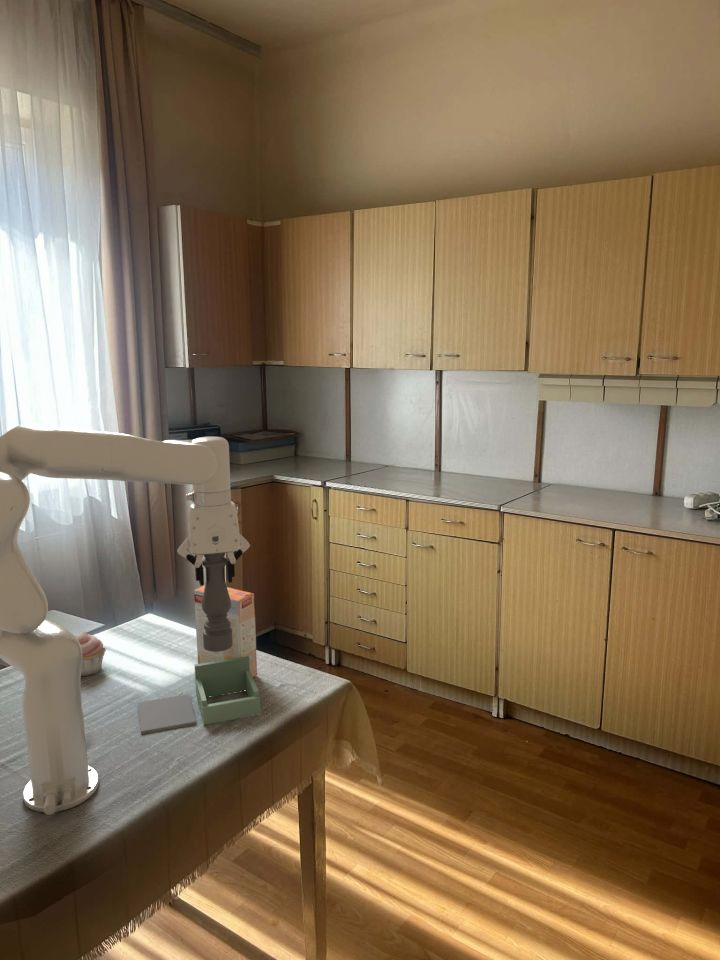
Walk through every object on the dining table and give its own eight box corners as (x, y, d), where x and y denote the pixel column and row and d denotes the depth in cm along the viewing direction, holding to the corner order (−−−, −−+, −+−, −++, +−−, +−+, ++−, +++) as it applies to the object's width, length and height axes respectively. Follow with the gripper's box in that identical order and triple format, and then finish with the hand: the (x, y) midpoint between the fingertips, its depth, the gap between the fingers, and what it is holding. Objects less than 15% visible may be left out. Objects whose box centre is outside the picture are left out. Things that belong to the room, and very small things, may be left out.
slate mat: (195, 724, 153) (195, 721, 153) (141, 734, 149) (140, 731, 149) (189, 696, 164) (188, 694, 164) (137, 705, 160) (137, 702, 160)
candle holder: (238, 645, 156) (234, 532, 151) (214, 654, 152) (209, 538, 146) (221, 636, 160) (217, 526, 155) (197, 645, 156) (192, 532, 151)
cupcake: (116, 668, 177) (113, 629, 175) (82, 683, 170) (78, 643, 167) (92, 657, 182) (89, 620, 180) (58, 672, 175) (54, 633, 173)
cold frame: (260, 714, 156) (259, 680, 154) (203, 725, 152) (201, 690, 150) (249, 688, 167) (248, 656, 165) (196, 697, 163) (194, 664, 162)
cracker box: (258, 675, 173) (255, 592, 168) (241, 686, 168) (237, 601, 163) (214, 661, 180) (210, 581, 176) (197, 671, 175) (192, 588, 171)
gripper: (170, 505, 143) (175, 592, 147) (257, 498, 148) (259, 583, 152) (167, 496, 150) (171, 580, 154) (250, 490, 155) (252, 572, 159)
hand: (215, 581), depth 153 cm, fingers closed on candle holder, 5 cm apart
